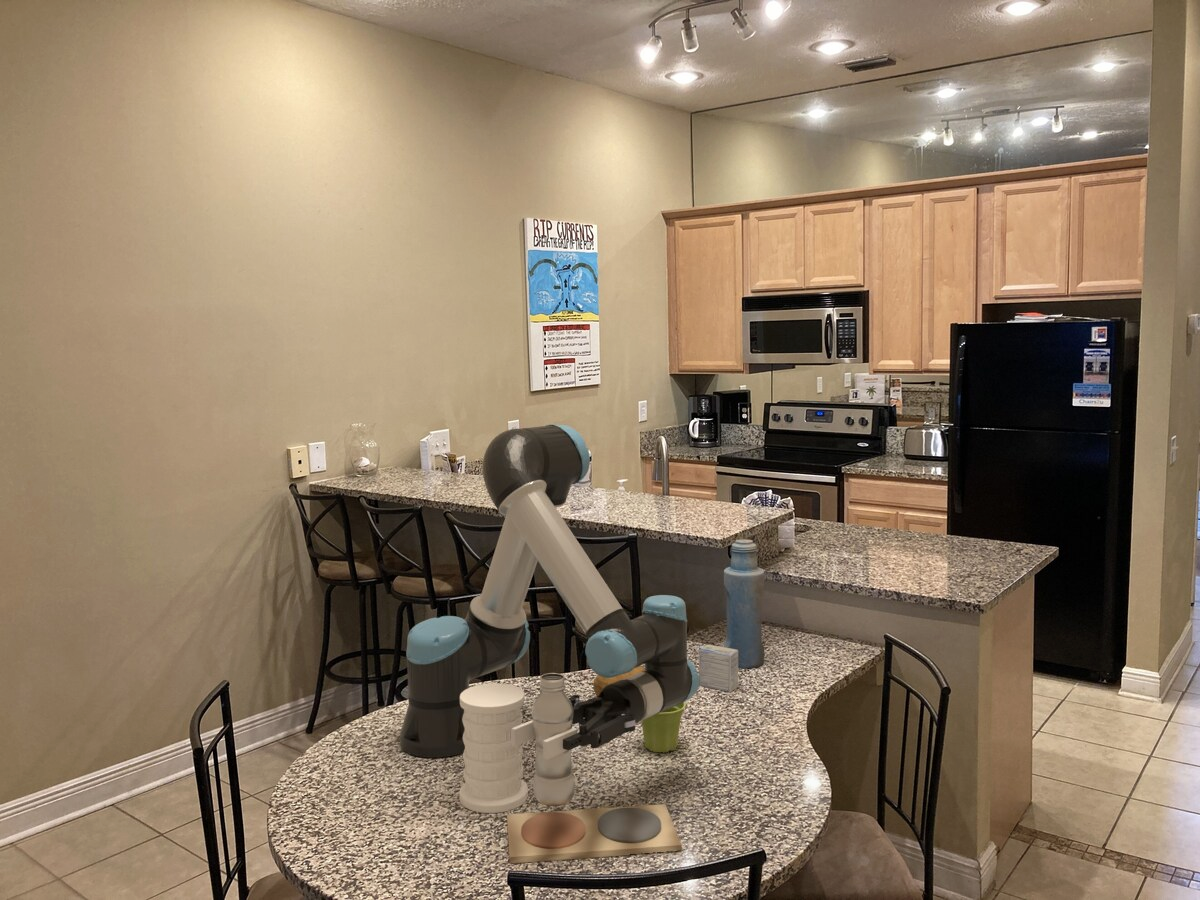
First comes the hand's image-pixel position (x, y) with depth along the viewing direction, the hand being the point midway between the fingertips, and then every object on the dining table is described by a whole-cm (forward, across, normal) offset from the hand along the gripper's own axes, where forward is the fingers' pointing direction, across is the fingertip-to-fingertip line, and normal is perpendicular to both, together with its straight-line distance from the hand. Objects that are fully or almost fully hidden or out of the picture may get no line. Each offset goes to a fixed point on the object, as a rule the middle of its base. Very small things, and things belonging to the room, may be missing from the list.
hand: (528, 743), depth 142 cm
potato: (-54, +29, -17) cm, 64 cm away
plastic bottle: (-5, 0, -11) cm, 12 cm away
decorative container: (-8, +18, -17) cm, 26 cm away
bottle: (-94, +25, -17) cm, 98 cm away
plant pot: (-43, +9, -17) cm, 47 cm away
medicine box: (-76, +20, -17) cm, 81 cm away
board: (-10, -4, -17) cm, 20 cm away
